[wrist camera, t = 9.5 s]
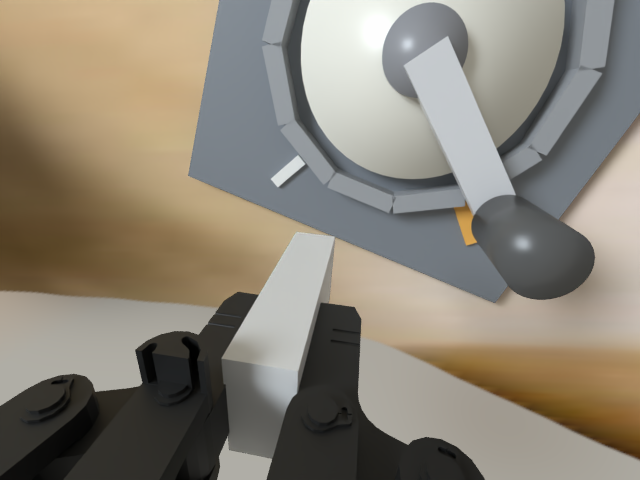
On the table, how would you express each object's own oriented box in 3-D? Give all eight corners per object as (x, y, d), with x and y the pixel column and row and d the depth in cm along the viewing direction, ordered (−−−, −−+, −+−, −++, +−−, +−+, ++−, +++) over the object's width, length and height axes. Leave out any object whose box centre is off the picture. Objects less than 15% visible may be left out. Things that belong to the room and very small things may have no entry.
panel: (490, 295, 25) (501, 313, 23) (195, 173, 26) (177, 179, 24) (815, -140, 14) (893, -184, 12) (290, -340, 15) (275, -418, 13)
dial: (264, 21, 20) (189, -34, 12) (493, -177, 15) (613, -477, 7) (406, 271, 24) (417, 345, 17) (614, 183, 20) (761, 231, 12)
